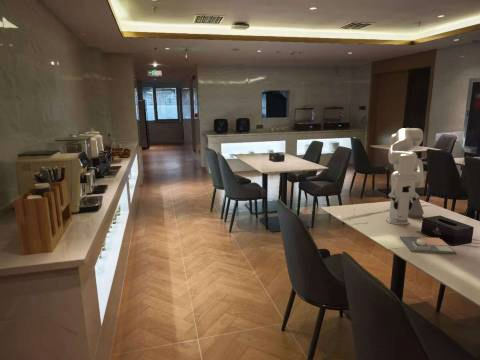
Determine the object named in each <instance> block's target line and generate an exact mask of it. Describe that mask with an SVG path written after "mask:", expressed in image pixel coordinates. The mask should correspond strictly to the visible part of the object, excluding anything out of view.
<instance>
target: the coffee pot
mask: <svg viewBox="0 0 480 360" xmlns="http://www.w3.org/2000/svg"><path fill="white" fill-rule="evenodd" d="M414 197H415V196H414ZM421 198H422V196H420V195H419V197H418V198H417V199H416V200H415V201H413V203H412V208H411V210H409V211H408V218H412V219H413V218H415V219H416V218H418V217H419V218H420V217H422V216H423V215H424V213H425V212H424V209H423V206H422V203H421V201H420V200H421Z"/></svg>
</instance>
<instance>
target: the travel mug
mask: <svg viewBox="0 0 480 360" xmlns="http://www.w3.org/2000/svg"><path fill="white" fill-rule="evenodd" d="M408 188H410V186H407V187H403V189H402V190H403V191H402V194H401V197H400V198H399V199H398V201H397V202H398V207H397V210H396V214H395V220H396V221H399V222H406V221H408V220H409V216H408V211H409V201H410V198H409V189H408Z"/></svg>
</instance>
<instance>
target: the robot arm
mask: <svg viewBox="0 0 480 360" xmlns="http://www.w3.org/2000/svg"><path fill="white" fill-rule="evenodd" d="M423 140H424V131H423V130H422V129H421V128H417V127H416V128H415V127H414V128H413V127H412V128H410V127H406V128H404V127H403V128H400V129H398V130H397V132H396V133H393V134H391V136H390V137H389V150H388V162H389V164H390V165H393V170H394V171H393V172H392V173H391V175H390V183H391V191H390V193H388V195H387V196H388V197H389V198H390V207H389V216H388V217H386V222H387V223H390V224H392V225H400V226H401V225H402V226H403V225H405V226H406V225H408V224H410V220H409V219H408V221H406V222H399V221H396V220H395V214H396V210H397V207H398V202H397V201H398V199H399V198H400V197H401V194H402V191H403V190H402V189H403V187H407V186H410V188H408V189H409V198H410V201H409V210H411V208H412V203H413V201H415V200H416V199H417V198H418V197H419V196H420V195H419V194H418V193H417V192H416V188H417V189H418V188H422V187H423V186H424V182H425V176H424V164H423V161H422V159H420V158H418V154H417V153H416V152H415V151H410V150H412V148H416V147H419V146H420V145H421V144H422V141H423ZM414 196H415V197H414Z"/></svg>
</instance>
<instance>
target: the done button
mask: <svg viewBox="0 0 480 360" xmlns="http://www.w3.org/2000/svg"><path fill="white" fill-rule="evenodd" d="M416 244H417V245H420V246H425V245H426V240H423V239H417V243H416Z"/></svg>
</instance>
